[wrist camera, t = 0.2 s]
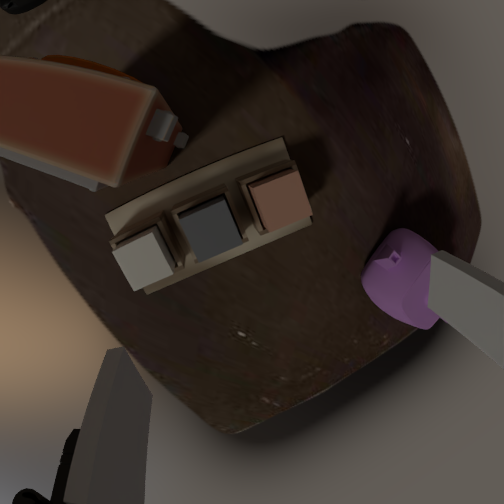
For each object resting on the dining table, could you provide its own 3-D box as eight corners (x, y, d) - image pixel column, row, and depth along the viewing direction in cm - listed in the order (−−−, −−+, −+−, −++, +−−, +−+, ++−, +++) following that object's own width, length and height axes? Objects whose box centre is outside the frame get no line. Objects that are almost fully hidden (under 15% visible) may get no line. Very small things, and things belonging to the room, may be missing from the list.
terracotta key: (246, 184, 32) (252, 188, 28) (286, 168, 32) (298, 170, 29) (262, 223, 34) (269, 232, 30) (300, 207, 34) (312, 214, 30)
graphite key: (181, 212, 32) (178, 220, 28) (221, 194, 32) (224, 199, 28) (198, 250, 34) (198, 263, 30) (238, 233, 34) (243, 244, 30)
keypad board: (105, 214, 33) (93, 222, 29) (281, 137, 34) (292, 135, 30) (147, 293, 37) (142, 309, 33) (310, 223, 38) (324, 232, 34)
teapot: (435, 265, 45) (483, 294, 34) (396, 318, 47) (437, 358, 36) (376, 197, 39) (435, 217, 27) (326, 265, 41) (371, 308, 29)
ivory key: (121, 240, 32) (111, 251, 28) (157, 223, 32) (152, 232, 28) (140, 276, 33) (134, 291, 30) (176, 260, 34) (173, 274, 30)
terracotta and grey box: (89, 91, 27) (195, 125, 32) (69, 142, 29) (172, 179, 33) (-13, 43, 7) (188, 82, 12) (-49, 146, 9) (134, 215, 13)
